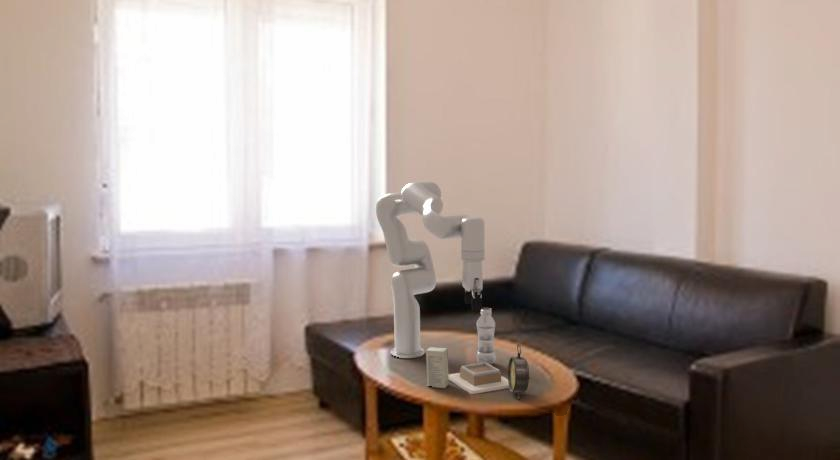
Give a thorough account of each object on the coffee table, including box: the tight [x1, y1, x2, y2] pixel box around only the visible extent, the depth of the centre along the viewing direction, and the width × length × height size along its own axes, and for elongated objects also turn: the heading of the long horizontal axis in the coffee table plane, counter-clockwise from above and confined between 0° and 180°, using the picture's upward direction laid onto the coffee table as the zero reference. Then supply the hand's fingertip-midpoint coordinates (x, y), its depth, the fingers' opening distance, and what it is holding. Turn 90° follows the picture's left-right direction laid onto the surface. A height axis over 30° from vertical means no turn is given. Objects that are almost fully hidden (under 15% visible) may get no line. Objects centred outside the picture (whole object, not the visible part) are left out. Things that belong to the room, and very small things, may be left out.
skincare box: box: [425, 346, 450, 389], centre depth 242 cm, size 6×4×12 cm
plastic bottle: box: [476, 307, 497, 366], centre depth 264 cm, size 6×7×20 cm
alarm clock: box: [507, 343, 530, 398], centre depth 232 cm, size 11×5×16 cm, turn 5°
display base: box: [448, 362, 509, 395], centre depth 246 cm, size 18×16×5 cm
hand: (473, 306), depth 246 cm, fingers open, 9 cm apart
